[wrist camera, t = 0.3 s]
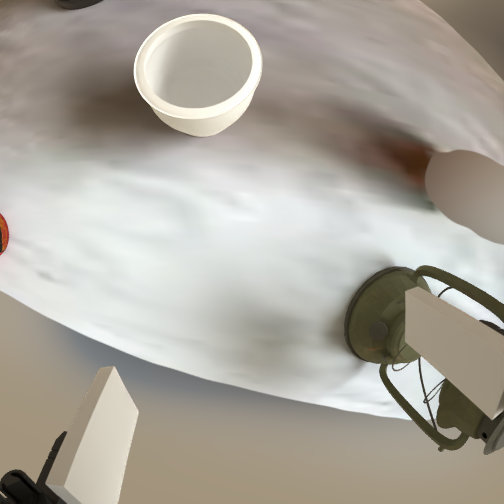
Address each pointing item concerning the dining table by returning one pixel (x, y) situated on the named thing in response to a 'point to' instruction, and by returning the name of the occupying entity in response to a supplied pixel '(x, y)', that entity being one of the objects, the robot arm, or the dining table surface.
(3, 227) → the canned food
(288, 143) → the dining table surface
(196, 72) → the jar
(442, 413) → the lantern
